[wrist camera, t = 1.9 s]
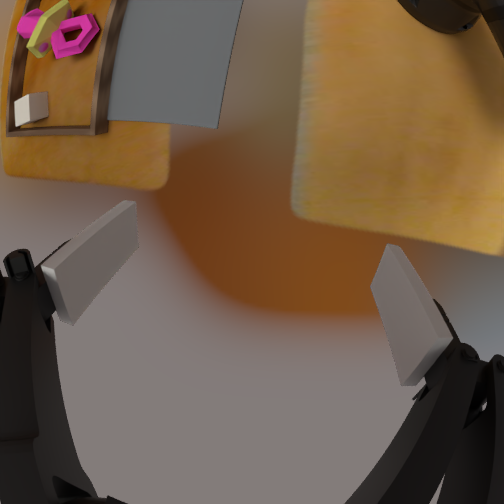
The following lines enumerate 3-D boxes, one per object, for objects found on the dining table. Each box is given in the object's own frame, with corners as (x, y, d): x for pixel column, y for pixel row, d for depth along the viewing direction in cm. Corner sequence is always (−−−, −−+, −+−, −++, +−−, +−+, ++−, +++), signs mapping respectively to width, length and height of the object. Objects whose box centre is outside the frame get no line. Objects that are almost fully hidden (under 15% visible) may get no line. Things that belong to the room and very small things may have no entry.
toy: (79, 75, 32) (63, 55, 23) (14, 53, 24) (-8, 35, 15) (112, 30, 31) (106, 2, 22) (45, 11, 23) (31, -13, 14)
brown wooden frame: (40, -5, 20) (29, -7, 17) (143, -41, 20) (134, -49, 17) (17, 133, 36) (6, 137, 33) (107, 131, 36) (94, 135, 33)
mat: (134, -15, 23) (133, -16, 23) (249, -22, 23) (248, -23, 22) (108, 119, 35) (107, 120, 35) (217, 128, 35) (217, 128, 34)
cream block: (32, 98, 33) (14, 101, 29) (47, 91, 32) (28, 93, 28) (33, 122, 35) (15, 126, 31) (48, 116, 35) (30, 120, 31)
